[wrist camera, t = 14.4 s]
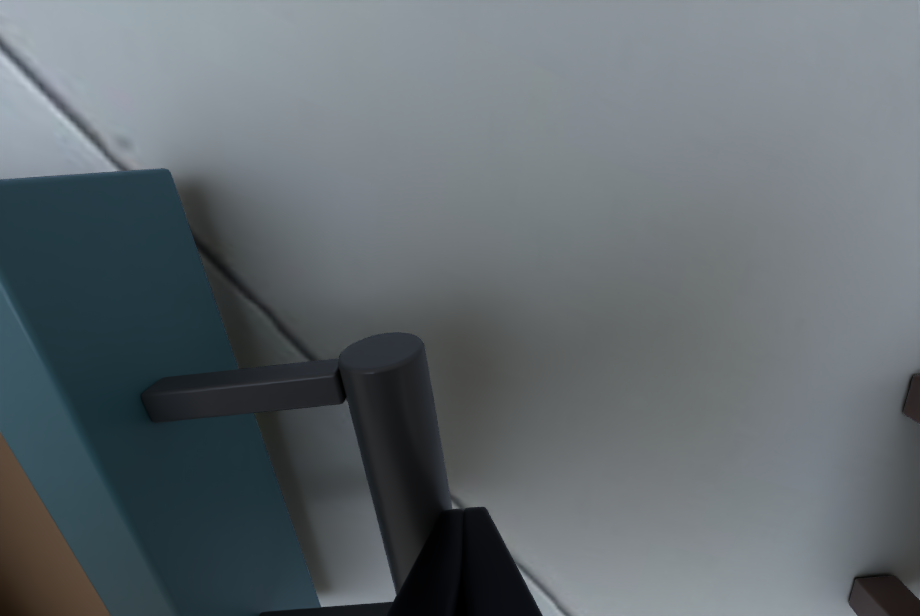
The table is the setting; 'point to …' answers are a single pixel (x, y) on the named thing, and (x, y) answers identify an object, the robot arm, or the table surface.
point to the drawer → (170, 420)
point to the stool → (886, 598)
